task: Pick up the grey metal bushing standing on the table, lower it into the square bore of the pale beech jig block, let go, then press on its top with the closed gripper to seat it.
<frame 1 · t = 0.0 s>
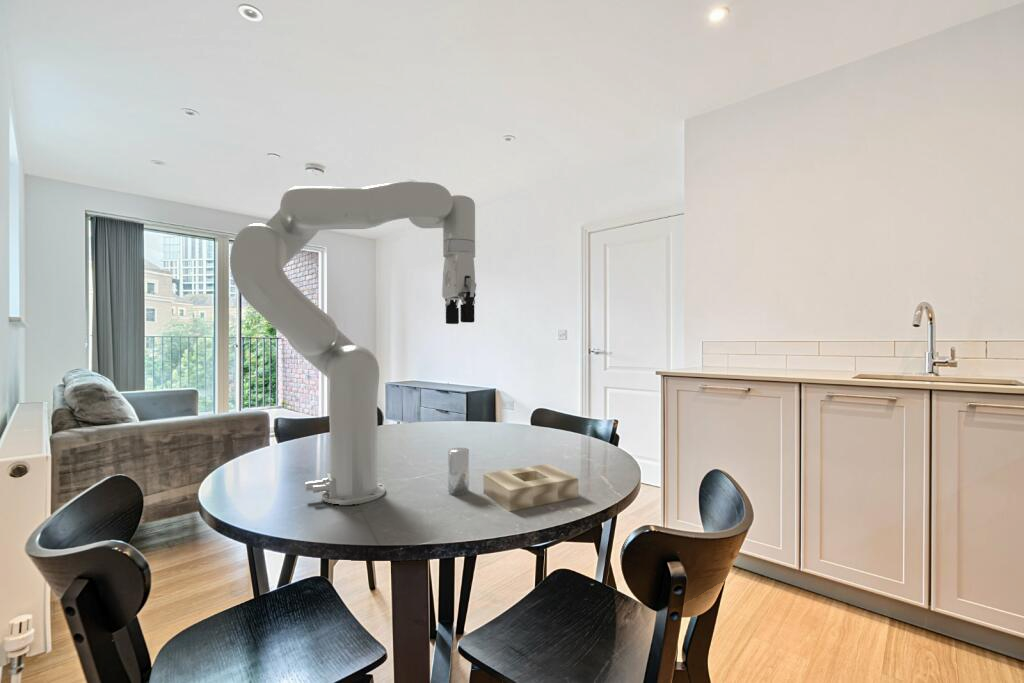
hand: (459, 323, 106), 37 cm above the table, tool pointing down, fingers open, 9 cm apart
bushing: (458, 492, 96), on the table
jig: (530, 494, 94), on the table
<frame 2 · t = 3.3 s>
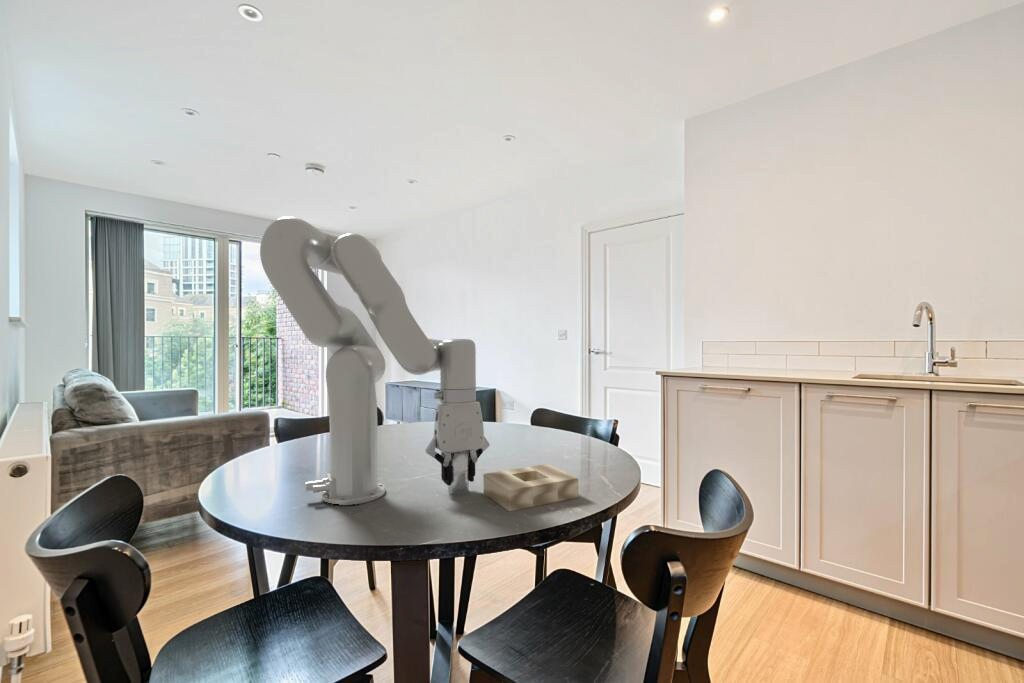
hand: (458, 480, 96), 2 cm above the table, tool pointing down, fingers closed on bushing, 4 cm apart
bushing: (458, 491, 96), on the table, touching gripper
when the fingers open (5 cm above the table, at t = 8.2 s): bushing drops 3 cm, resting in jig.
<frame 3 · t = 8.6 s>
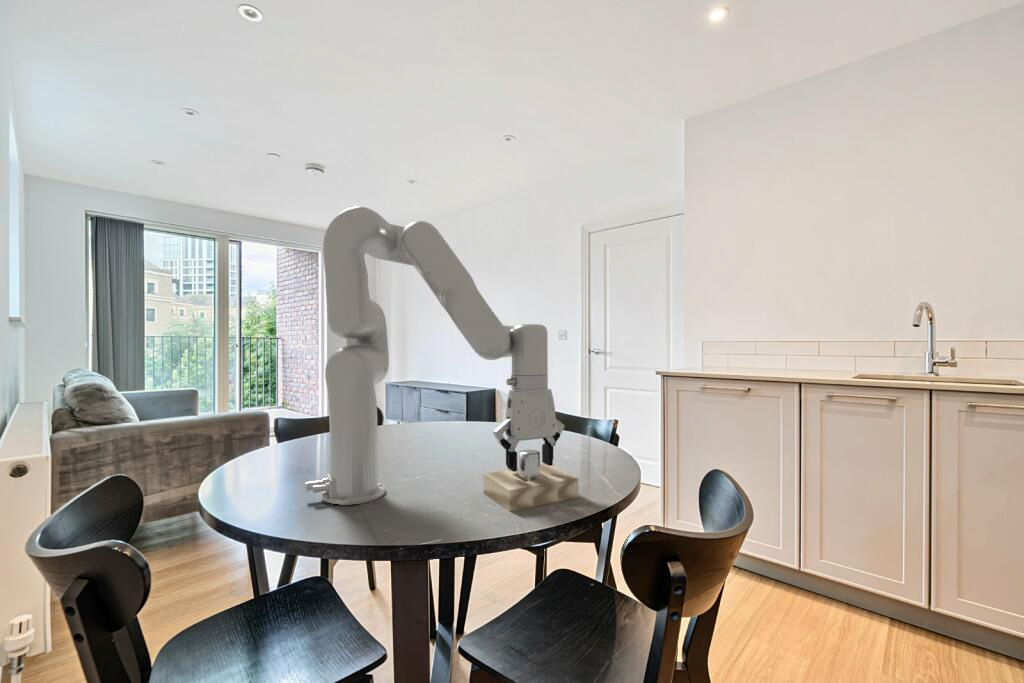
hand: (530, 466, 94), 6 cm above the table, tool pointing down, fingers open, 8 cm apart
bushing: (529, 495, 94), resting in jig
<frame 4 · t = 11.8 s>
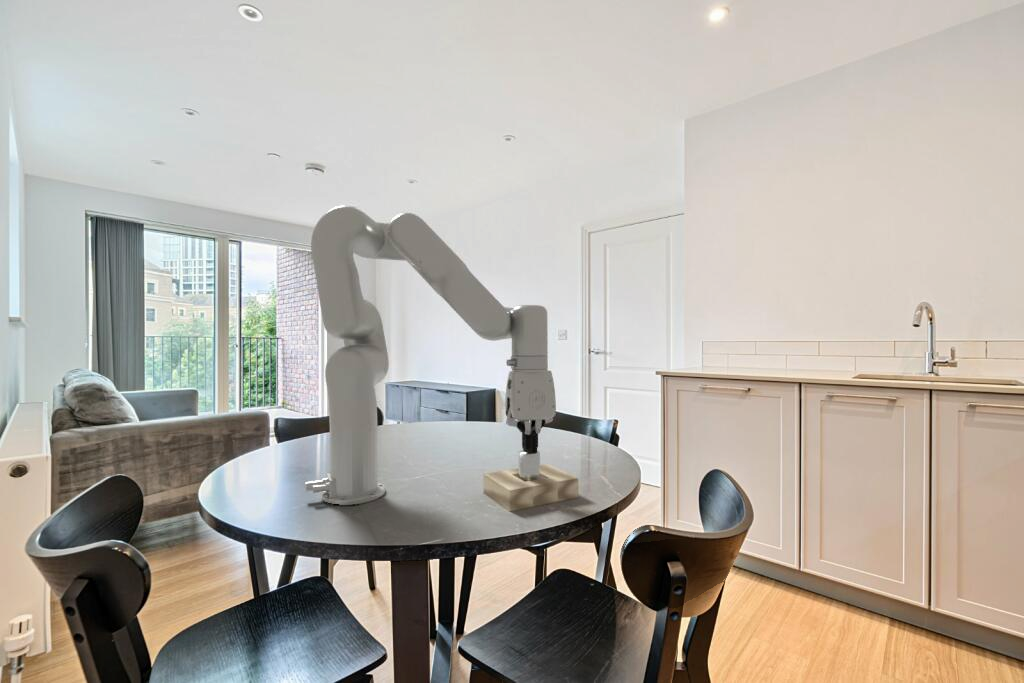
hand: (530, 451, 94), 9 cm above the table, tool pointing down, fingers closed
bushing: (529, 495, 94), resting in jig, touching gripper
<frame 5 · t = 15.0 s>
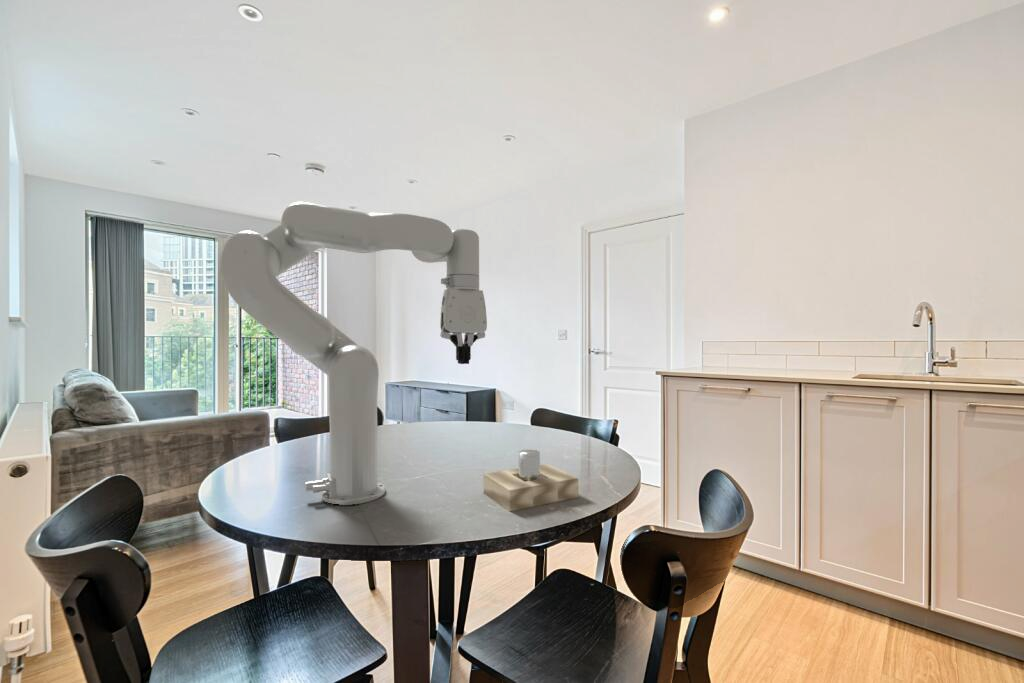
hand: (463, 363, 104), 27 cm above the table, tool pointing down, fingers closed
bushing: (529, 495, 94), resting in jig
at the end: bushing 0.2 cm off-centre on the jig, point 0.0 cm above the jig's base; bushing tilted 0°; the gripper is holding nothing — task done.
